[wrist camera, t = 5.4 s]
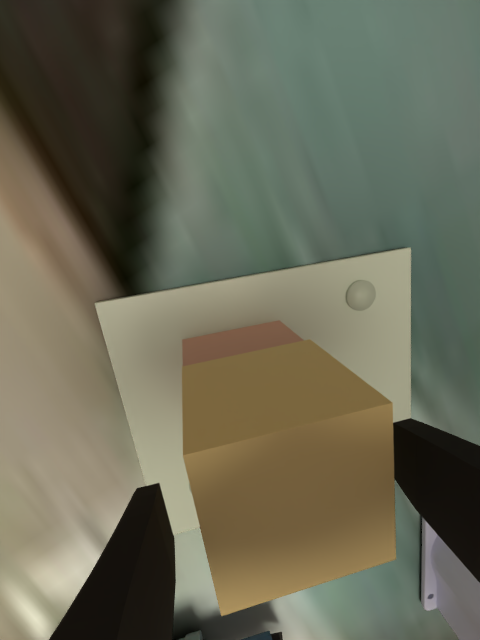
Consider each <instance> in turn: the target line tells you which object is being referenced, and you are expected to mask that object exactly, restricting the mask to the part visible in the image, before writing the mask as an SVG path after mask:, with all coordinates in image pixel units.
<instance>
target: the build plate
mask: <svg viewBox="0 0 480 640" xmlns="http://www.w3.org/2000/svg"><path fill="white" fill-rule="evenodd" d="M95 307H96V310H97V314H98V317H99V321H100V324H101V328H102V332H103V335H104V339H105V342H106V346H107V349H108V353H109V356H110V360H111V363H112V367H113V370H114V374H115V377H116V381H117V385H118V388H119V392H120V395H121V399H122V402H123V406H124V409H125V413H126V416H127V420H128V423H129V427H130V430H131V434H132V438H133V441H134V445H135V448H136V452H137V455H138V459H139V462H140V466H141V469H142V473H143V476H144V480H145V483H146V486H148V485H152V484H156V483H160V487H161V491H162V495H163V498H164V502H165V506H166V510H167V513H168V517H169V521H170V525H171V528H172V532H173V535H175V534H178V533H182V532H185V531H189V530H192V529H196V528H199V527H200V525H199V521H198V517H197V513H196V508H195V504H194V500H193V496H192V492H191V488H190V483H189V479H188V475H187V471H186V467H185V463H184V458H183V424H182V366H183V359H182V340H183V339H188V338H193V337H198V336H203V335H208V334H213V333H218V332H223V331H228V330H233V329H238V328H243V327H248V326H253V325H258V324H263V323H268V322H273V321H278V320H280V321H281V322H282V323H283V324H285V325H286V326H287V327H288V328H290V329H291V330H292V331H293V332H294V333H296V334H297V335H298V336H299V337H301V338H302V339H303V340H309V339H310V340H312V341H313V342H314V343H316V344H317V345H318V346H319V347H321V348H322V349H323V350H325V351H326V352H327V353H329V354H330V355H331V356H332V357H334V358H335V359H336V360H338V361H339V362H340V363H342V364H343V365H344V366H345V367H347V368H348V369H349V370H351V371H352V372H353V373H355V374H356V375H357V376H358V377H360V378H361V379H362V380H364V381H365V382H366V383H368V384H369V385H370V386H372V387H373V388H374V389H375V390H377V391H378V392H379V393H381V394H382V395H383V396H385V397H386V398H387V399H388V400H390V401H391V402H392V403H393V423H394V422H398V421H402V420H406V419H409V418H411V248H400V249H395V250H389V251H383V252H377V253H372V254H366V255H360V256H355V257H349V258H343V259H338V260H332V261H326V262H321V263H315V264H309V265H303V266H298V267H292V268H286V269H281V270H275V271H269V272H264V273H258V274H252V275H247V276H241V277H235V278H230V279H224V280H218V281H212V282H207V283H201V284H195V285H190V286H184V287H178V288H173V289H167V290H161V291H156V292H150V293H144V294H138V295H133V296H127V297H121V298H116V299H110V300H104V301H99V302H96V303H95Z"/></svg>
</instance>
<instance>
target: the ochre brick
mask: <svg viewBox="0 0 480 640" xmlns="http://www.w3.org/2000/svg"><path fill="white" fill-rule="evenodd" d="M182 424H183V458H184V463H185V467H186V471H187V475H188V479H189V483H190V488H191V492H192V496H193V500H194V504H195V508H196V513H197V517H198V521H199V525H200V529H201V533H202V537H203V542H204V546H205V550H206V554H207V558H208V562H209V567H210V571H211V575H212V579H213V583H214V587H215V591H216V596H217V600H218V604H219V608H220V612H221V616H224V615H227V614H230V613H233V612H236V611H239V610H242V609H245V608H248V607H252V606H255V605H258V604H261V603H264V602H267V601H270V600H273V599H276V598H279V597H282V596H285V595H288V594H291V593H294V592H297V591H301V590H304V589H307V588H310V587H313V586H316V585H319V584H322V583H325V582H328V581H331V580H334V579H337V578H340V577H343V576H346V575H350V574H353V573H356V572H359V571H362V570H365V569H368V568H371V567H374V566H377V565H380V564H383V563H386V562H389V561H392V560H395V559H396V535H395V488H394V442H393V403H392V402H391V401H390V400H388V399H387V398H386V397H385V396H383V395H382V394H381V393H379V392H378V391H377V390H375V389H374V388H373V387H372V386H370V385H369V384H368V383H366V382H365V381H364V380H362V379H361V378H360V377H358V376H357V375H356V374H355V373H353V372H352V371H351V370H349V369H348V368H347V367H345V366H344V365H343V364H342V363H340V362H339V361H338V360H336V359H335V358H334V357H332V356H331V355H330V354H329V353H327V352H326V351H325V350H323V349H322V348H321V347H319V346H318V345H317V344H316V343H314V342H313V341H312V340H310V339H309V340H304V341H299V342H294V343H290V344H285V345H280V346H276V347H271V348H266V349H262V350H257V351H252V352H248V353H243V354H238V355H234V356H229V357H224V358H220V359H215V360H210V361H205V362H201V363H196V364H191V365H187V366H182Z"/></svg>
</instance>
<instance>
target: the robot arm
mask: <svg viewBox="0 0 480 640" xmlns="http://www.w3.org/2000/svg"><path fill="white" fill-rule="evenodd" d="M393 442H394V478H395V480H396V481H397V483H398V484H399V486H400V487H401V489H402V490H403V492H404V493H405V495H406V496H407V498H408V499H409V500H410V502H411V503H412V505H413V506H414V507H415V509H416V510H417V511H418V512H419V514H420V515H421V516H422V580H421V604H422V606H423V607H424V609H425V610H428V611H429V610H432V609H435V608H438V610H439V611H440V612H441V614H442V615H443V617H444V618H445V620H446V621H447V622H448V624H449V625H450V627H451V628H452V630H453V631H454V633H455V634H456V635H457V637H458V638H459V640H480V446H479V445H476V444H474V443H471V442H469V441H466V440H464V439H461V438H459V437H457V436H454V435H452V434H449V433H447V432H444V431H442V430H440V429H437V428H435V427H432V426H430V425H427V424H424V423H422V422H419V421H416V420H414V419H411V418H409V419H406V420H402V421H398V422H394V423H393ZM175 582H176V579H175V545H174V536H173V532H172V528H171V525H170V521H169V517H168V513H167V510H166V506H165V502H164V498H163V495H162V491H161V487H160V483H156V484H152V485H148V486H144V487H140V488H137V489H136V491H135V492H134V494H133V496H132V498H131V500H130V502H129V504H128V506H127V508H126V510H125V512H124V514H123V516H122V518H121V519H120V521H119V523H118V525H117V527H116V529H115V531H114V533H113V535H112V536H111V538H110V540H109V542H108V544H107V545H106V547H105V549H104V551H103V552H102V554H101V556H100V558H99V560H98V561H97V563H96V565H95V567H94V568H93V570H92V572H91V574H90V575H89V577H88V579H87V580H86V582H85V583H84V585H83V587H82V588H81V590H80V592H79V593H78V595H77V596H76V598H75V600H74V601H73V603H72V605H71V606H70V608H69V609H68V611H67V613H66V614H65V616H64V617H63V619H62V621H61V622H60V624H59V625H58V627H57V628H56V630H55V631H54V633H53V634H52V636H51V637H50V639H49V640H172V630H173V615H174V599H175Z"/></svg>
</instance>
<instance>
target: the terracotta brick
mask: <svg viewBox="0 0 480 640" xmlns="http://www.w3.org/2000/svg"><path fill="white" fill-rule="evenodd" d="M299 341H304V340H303V339H302V338H301V337H299V336H298V335H297V334H296V333H294V332H293V331H292V330H291V329H290V328H288V327H287V326H286V325H285V324H283V323H282V322H281V321H280V320H278V321H273V322H268V323H263V324H258V325H253V326H248V327H243V328H238V329H233V330H228V331H223V332H218V333H213V334H208V335H203V336H198V337H193V338H188V339H183V340H182V359H183V366H187V365H191V364H196V363H201V362H205V361H210V360H215V359H220V358H224V357H229V356H234V355H238V354H243V353H248V352H252V351H257V350H262V349H266V348H271V347H276V346H280V345H285V344H290V343H294V342H299Z"/></svg>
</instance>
